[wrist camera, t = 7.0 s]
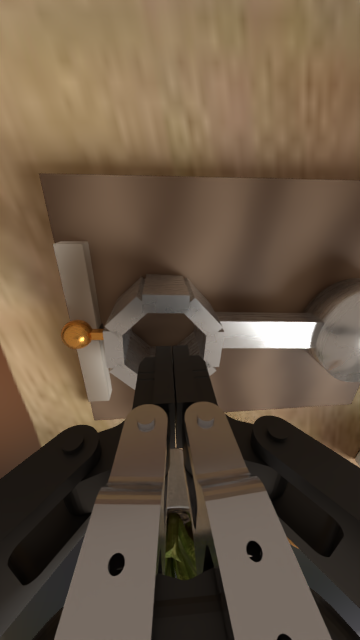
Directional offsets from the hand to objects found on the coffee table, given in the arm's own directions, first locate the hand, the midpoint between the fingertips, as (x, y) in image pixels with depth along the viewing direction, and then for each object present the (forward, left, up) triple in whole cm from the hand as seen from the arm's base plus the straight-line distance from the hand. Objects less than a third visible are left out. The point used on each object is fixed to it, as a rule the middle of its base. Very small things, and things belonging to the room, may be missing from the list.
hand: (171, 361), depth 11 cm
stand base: (-6, +1, -8) cm, 10 cm away
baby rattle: (-5, +1, -6) cm, 8 cm away
